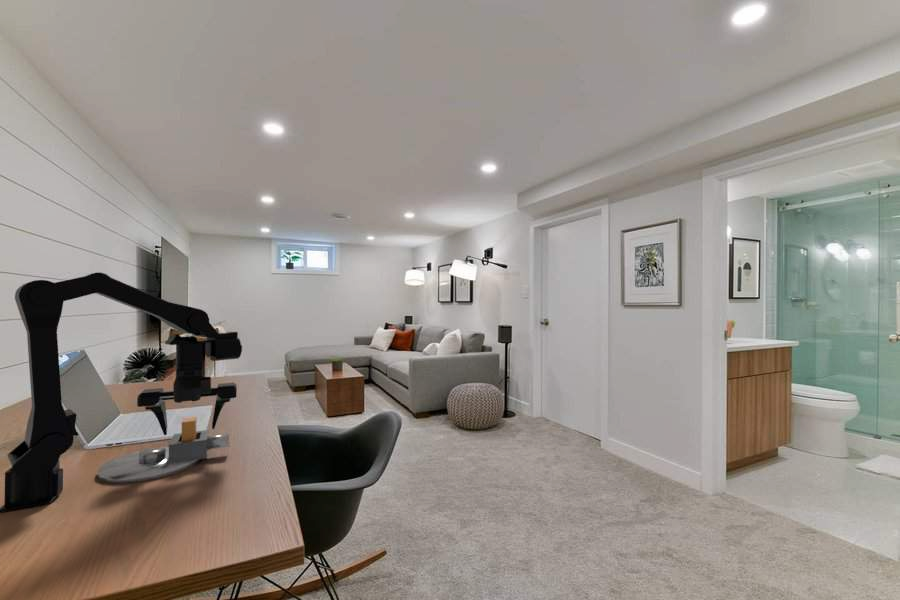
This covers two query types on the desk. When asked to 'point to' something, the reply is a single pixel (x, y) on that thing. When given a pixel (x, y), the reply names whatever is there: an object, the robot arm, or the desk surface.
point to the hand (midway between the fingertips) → (189, 431)
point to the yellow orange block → (189, 429)
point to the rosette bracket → (161, 459)
